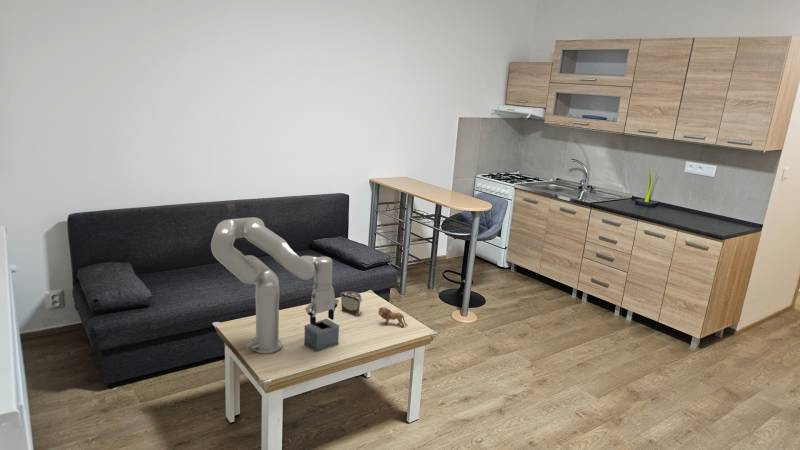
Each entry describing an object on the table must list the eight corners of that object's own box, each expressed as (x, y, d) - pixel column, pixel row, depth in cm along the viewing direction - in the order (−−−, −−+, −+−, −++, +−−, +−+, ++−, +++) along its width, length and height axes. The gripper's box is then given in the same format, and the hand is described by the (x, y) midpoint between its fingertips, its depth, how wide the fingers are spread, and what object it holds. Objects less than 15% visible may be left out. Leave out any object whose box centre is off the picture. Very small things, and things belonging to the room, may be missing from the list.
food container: (366, 313, 269) (366, 295, 266) (358, 317, 263) (359, 298, 261) (346, 307, 275) (347, 289, 272) (339, 310, 270) (340, 292, 267)
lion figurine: (377, 326, 255) (378, 309, 253) (378, 321, 260) (379, 304, 258) (407, 328, 255) (408, 311, 253) (407, 323, 260) (408, 306, 258)
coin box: (316, 352, 227) (316, 332, 225) (304, 344, 233) (304, 325, 231) (338, 343, 235) (339, 325, 233) (326, 336, 241) (326, 318, 239)
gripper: (311, 292, 219) (310, 330, 223) (344, 283, 231) (342, 319, 235) (301, 286, 224) (300, 323, 228) (333, 278, 236) (332, 313, 240)
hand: (322, 321), depth 231 cm, fingers open, 9 cm apart
